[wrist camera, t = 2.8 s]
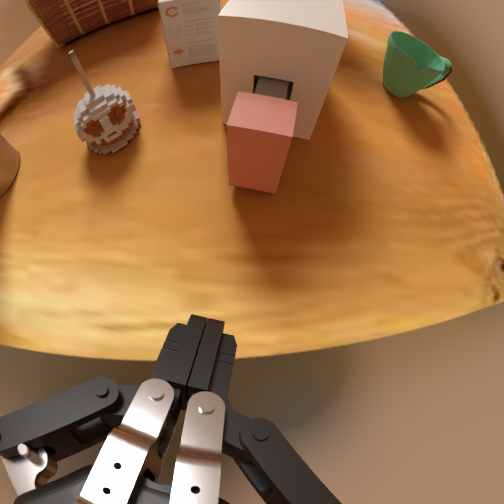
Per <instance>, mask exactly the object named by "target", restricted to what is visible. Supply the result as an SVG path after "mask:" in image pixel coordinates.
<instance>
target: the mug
mask: <svg viewBox="0 0 504 504" xmlns="http://www.w3.org/2000/svg"><path fill="white" fill-rule="evenodd" d="M451 72H452V65H451V63H450V61H449V60H448V59H446V58H443V57H439V56H438V54H437V53H436V52H434V50H433V49H431V48H430V47H429V46H428V45H426V44H425V43H423V42H422V41H420V40H419V39H417V38H415V37H413V36H411V35H409V34H406V33H403V32H399V31H394V32H392V33H391V34H390V36H389V39H388V44H387V50H386V54H385V59H384V68H383V85H384V87H385V88H386V89H387V91H389V92H390V93H391V94H393V95H394V96H396V97H399V98H406V97H408V96H410V95H412V94H414V93H415V92H417V91H419V90H421V89H426V88H429V87H431V86H433V85H435V84H438V83H440V82H442V81H444V80H445V79H446V78H447V76H448V75H449V74H450V73H451Z"/></svg>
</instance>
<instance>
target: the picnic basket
mask: <svg viewBox="0 0 504 504" xmlns="http://www.w3.org/2000/svg"><path fill="white" fill-rule="evenodd" d="M26 4H27V6H28V7H29V9H30V10H31V12H32V13H33V14H34V15H35V17H36V18H37V20H38V21H39V22H40V24H41V25H42V27H43V28H44V29H45V31H46V32H47V34H48V35H49V36H50V38H51V39H52V40H53V42H54V43H55V44H56V45H57V46H58V47H62V46H64V45H65V43H67V42H69V41H71V40H73V39H75V38H77V37H79V36H82V35H84V34H86V33H88V32H90V31H93V30H95V29H97V28H100V27H102V26H104V25H107V24H109V23H112V22H115V21H117V20H120V19H123V18H126V17H129V16H132V15H135V14H138V13H141V12H144V11H148V10H151V9H155V8H157V9H159V7H158V0H26Z"/></svg>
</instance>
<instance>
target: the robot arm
mask: <svg viewBox="0 0 504 504" xmlns="http://www.w3.org/2000/svg"><path fill="white" fill-rule="evenodd" d="M19 165H20V155H19V152H18V151H17V150H16V149H15V148H14V147H13V146H12V145H11V144H10V143H8V142H7V141H6V139H5V138H4V137H3V136H2V135H1V134H0V197H1V196H2V195H3V194H4V193H5V192H6V191H7V189H8V188H9V187H10V185H11V184H12V182H13V180H14V178H15V176H16V174H17V171H18V168H19ZM224 323H225V322H224V321H219V320H215V319H210V318H209V319H208V318H206V317H201V316H197V315H193V314H192V315H191V316H190V319H189V321H188V324H187V325H184V324H180V323H177V324H176V325H175V326H174V327H173V328H171V329H170V331H169V333H168V335H167V338H166V341H165V342H164V345H163V348H162V349H161V352H160V354H159V356H158V359H157V361H156V364H155V366H154V369H153V371H152V373H151V376H150V377H149V379H148V380H147V381H145V382H144V383H142V384H140V385H136V386H122V385H116V383H115V382H114V381H113V380H112V379H110V378H108V377H104V376H99V377H95V378H93V379H91V380H88V381H86V382H84V383H82V384H79V385H77V386H75V387H73V388H70V389H68V390H66V391H64V392H61V393H59V394H57V395H55V396H52V397H50V398H47V399H45V400H43V401H40V402H38V403H35V404H33V405H30V406H28V407H25V408H23V409H21V410H18V411H15V412H13V413H10V414H8V415H5V416H3V417H0V456H1V457H2V460H3V463H4V465H5V468H6V470H7V473H8V475H9V477H10V479H11V481H12V484H13V486H14V488H15V490H16V492H17V494H18V497H17V498H16V500H15V501H14V504H229V503H228V502H226V501H225V500H223V499H221V498H220V497H219V486H220V474H221V452H222V453H224V454H226V455H228V456H230V457H232V458H233V459H234V461H235V462H236V464H237V465H238V466H239V468H240V469H241V471H242V472H243V474H244V475H245V476H246V477H247V479H248V481H249V482H250V483H251V485H252V486H253V487H254V488H255V490H256V491H257V492H258V494H259V495H260V496H261V497H262V499H263V500H264V501H265V503H266V504H342V503H340V501H339V500H338V499H337V498H336V497H335V496H334V495H333V494H332V493H331V492H330V491H329V489H328V488H327V487H326V486H325V485H324V484H323V483H322V482H321V481H320V479H319V478H318V477H317V476H316V475H315V474H314V473H313V472H312V470H311V469H310V468H309V467H308V466H307V464H306V463H305V462H304V461H303V460H302V458H301V457H300V456H299V455H298V454H297V452H296V451H295V450H294V449H293V448H292V446H291V445H290V444H289V442H288V441H287V440H286V439H285V437H284V436H283V435H282V434H281V432H280V431H279V430H278V428H277V427H276V426H275V425H274V424H273V423H272V422H270V421H269V420H267V419H263V418H255V419H250V418H248V417H246V416H243V415H241V414H240V413H238V412H236V411H235V410H234V409H233V408H232V407H231V405H230V403H229V401H228V390H229V385H230V379H231V374H232V369H233V364H234V358H235V353H236V348H237V344H236V341H235V338H234V336H233V335H228V334H224V333H223V330H224ZM181 409H182V410H185V411H186V416H185V422H184V427H183V433H182V439H181V445H180V449H179V452H178V455H177V460H176V465H175V472H174V478H173V485H172V486H169V485H159V484H157V481H158V478H159V476H160V473H161V470H162V466H163V459H164V457H165V454H166V451H167V449H168V446H169V443H170V441H171V438H172V435H173V433H174V430H175V428H176V425H177V421H178V417H179V414H180V411H181ZM106 439H107V440H106ZM104 440H106V442H105V444H104V446H103V448H102V450H101V452H100V454H99V456H98V458H97V461H96V462H95V464H92V465H88V466H85V467H83V468H81V469H79V470H76V471H74V472H72V473H70V474H68V475H66V476H64V477H62V478H59V479H57V480H55V481H52V482H50V483H48V484H47V481H48V480H49V479H50V478H51V477H53V476H54V475H55V474H56V472H57V469H58V464H57V461H59V460H62V459H64V458H67V457H69V456H71V455H73V454H76V453H78V452H80V451H83V450H85V449H87V448H89V447H91V446H93V445H95V444H97V443H100V442H102V441H104Z"/></svg>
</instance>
